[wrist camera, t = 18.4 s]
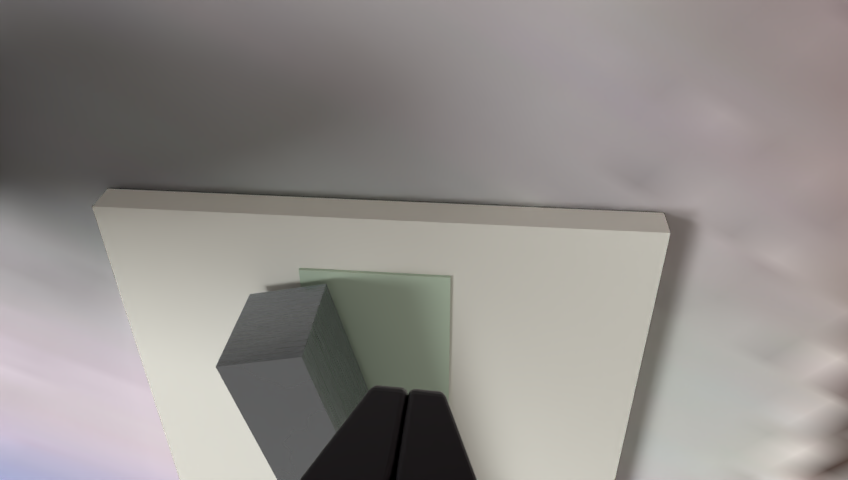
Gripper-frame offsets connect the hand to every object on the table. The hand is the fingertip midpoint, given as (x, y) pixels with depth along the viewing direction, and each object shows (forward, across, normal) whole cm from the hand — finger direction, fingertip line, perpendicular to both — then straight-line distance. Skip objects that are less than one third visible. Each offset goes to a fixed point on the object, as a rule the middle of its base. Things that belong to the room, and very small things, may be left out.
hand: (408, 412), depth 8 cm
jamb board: (+12, +1, +17) cm, 21 cm away
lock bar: (+10, +3, +13) cm, 17 cm away
